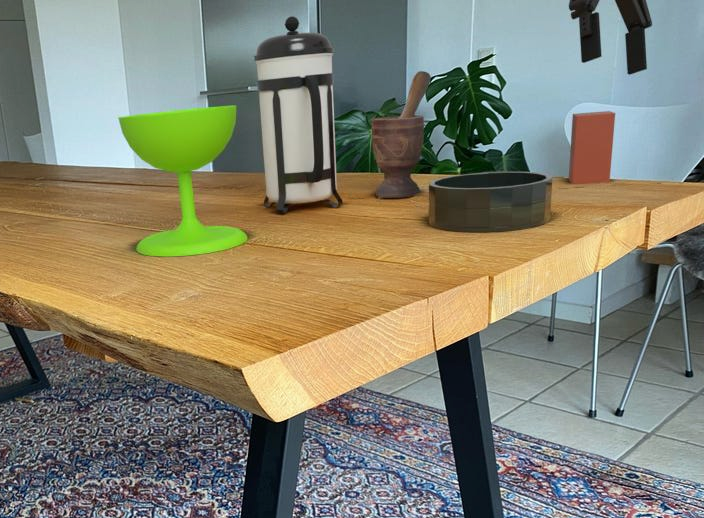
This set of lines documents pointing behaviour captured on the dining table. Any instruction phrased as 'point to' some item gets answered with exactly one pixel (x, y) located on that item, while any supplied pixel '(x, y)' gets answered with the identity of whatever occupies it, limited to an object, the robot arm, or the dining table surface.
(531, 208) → the bowl
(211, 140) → the wineglass
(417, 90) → the mortar and pestle
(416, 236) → the dining table surface
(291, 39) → the coffee press
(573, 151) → the block
